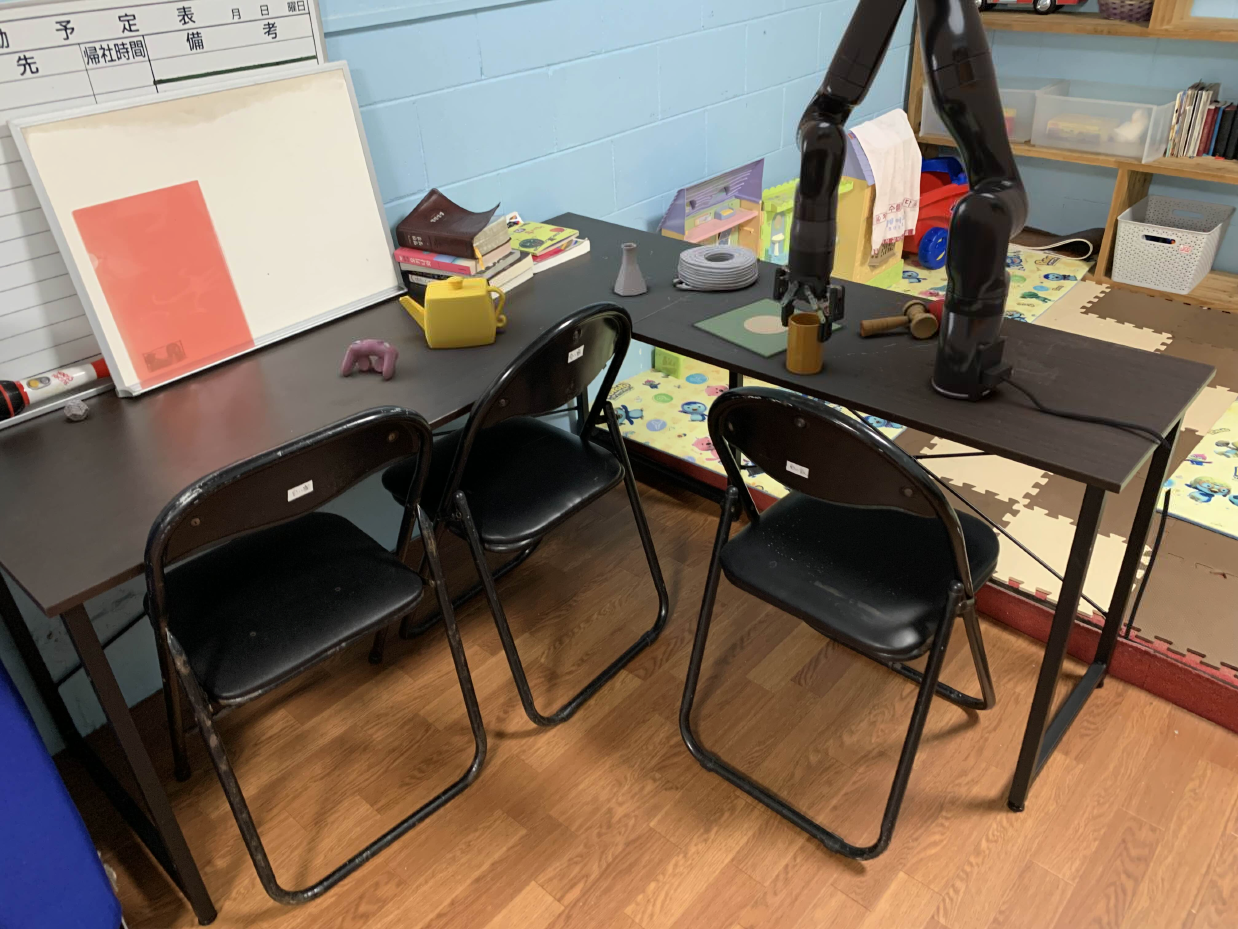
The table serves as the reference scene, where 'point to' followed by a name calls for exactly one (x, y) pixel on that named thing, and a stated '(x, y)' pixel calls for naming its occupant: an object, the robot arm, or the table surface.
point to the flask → (629, 273)
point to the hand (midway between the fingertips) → (805, 333)
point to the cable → (717, 268)
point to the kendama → (909, 319)
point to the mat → (753, 327)
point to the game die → (76, 410)
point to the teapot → (458, 312)
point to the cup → (804, 344)
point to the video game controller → (361, 354)
